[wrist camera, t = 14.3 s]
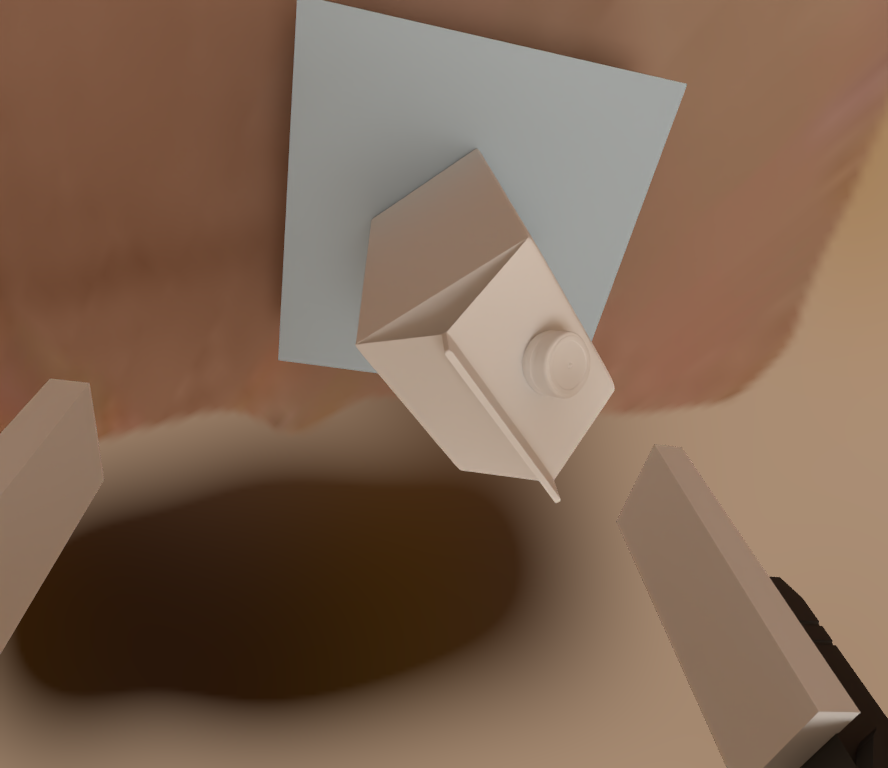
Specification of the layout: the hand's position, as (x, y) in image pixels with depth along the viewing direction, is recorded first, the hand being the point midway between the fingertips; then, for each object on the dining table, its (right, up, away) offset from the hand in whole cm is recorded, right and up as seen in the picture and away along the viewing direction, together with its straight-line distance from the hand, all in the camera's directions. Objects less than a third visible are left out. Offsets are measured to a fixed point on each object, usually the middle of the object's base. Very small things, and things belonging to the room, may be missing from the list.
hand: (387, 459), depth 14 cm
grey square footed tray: (+2, +14, +26) cm, 30 cm away
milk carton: (+2, +11, +20) cm, 23 cm away
